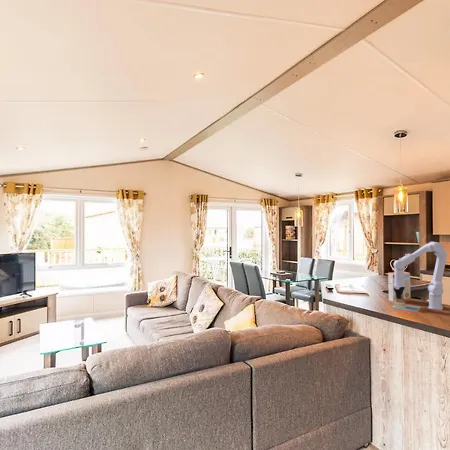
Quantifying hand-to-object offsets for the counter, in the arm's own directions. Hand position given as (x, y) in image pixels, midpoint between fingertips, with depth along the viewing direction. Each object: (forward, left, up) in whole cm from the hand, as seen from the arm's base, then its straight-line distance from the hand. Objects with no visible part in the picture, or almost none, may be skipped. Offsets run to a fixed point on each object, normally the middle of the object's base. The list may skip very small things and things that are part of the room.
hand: (399, 298), depth 226 cm
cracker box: (-18, -3, -6) cm, 19 cm away
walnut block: (0, 0, -3) cm, 3 cm away
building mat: (+1, +4, -6) cm, 7 cm away
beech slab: (0, 0, -6) cm, 6 cm away
